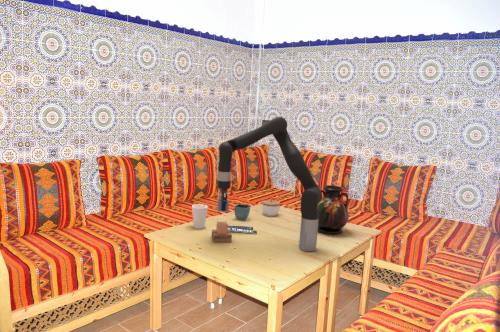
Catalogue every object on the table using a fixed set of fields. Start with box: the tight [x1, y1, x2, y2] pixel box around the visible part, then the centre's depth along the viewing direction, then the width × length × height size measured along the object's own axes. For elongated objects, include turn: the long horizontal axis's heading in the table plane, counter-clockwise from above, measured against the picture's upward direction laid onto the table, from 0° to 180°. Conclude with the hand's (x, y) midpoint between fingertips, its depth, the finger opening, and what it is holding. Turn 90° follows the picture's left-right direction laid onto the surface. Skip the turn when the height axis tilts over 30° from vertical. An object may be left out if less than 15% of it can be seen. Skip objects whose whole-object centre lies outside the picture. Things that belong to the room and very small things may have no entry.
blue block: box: [216, 198, 230, 213], centre depth 216 cm, size 6×6×6 cm
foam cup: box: [191, 203, 209, 230], centre depth 238 cm, size 10×9×13 cm
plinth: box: [211, 229, 233, 244], centre depth 219 cm, size 10×10×4 cm
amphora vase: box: [317, 184, 350, 236], centre depth 242 cm, size 22×22×28 cm
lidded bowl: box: [261, 199, 281, 217], centre depth 273 cm, size 13×13×11 cm
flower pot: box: [233, 203, 251, 221], centre depth 259 cm, size 9×9×9 cm
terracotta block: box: [215, 220, 229, 234], centre depth 218 cm, size 6×6×6 cm
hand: (222, 209), depth 217 cm, fingers closed on blue block, 5 cm apart
